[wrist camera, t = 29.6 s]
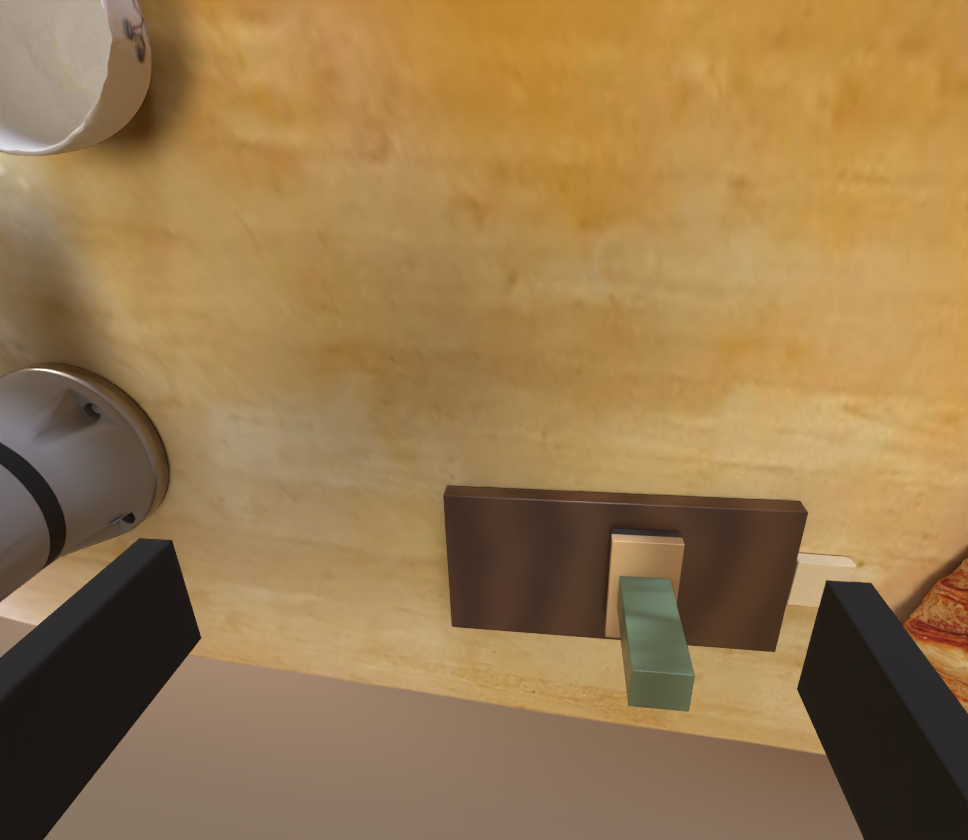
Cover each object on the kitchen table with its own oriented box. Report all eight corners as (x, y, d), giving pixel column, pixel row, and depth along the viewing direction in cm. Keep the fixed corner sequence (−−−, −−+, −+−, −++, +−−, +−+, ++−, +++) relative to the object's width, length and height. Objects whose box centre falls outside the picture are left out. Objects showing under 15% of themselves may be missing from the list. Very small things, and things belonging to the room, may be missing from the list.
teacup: (169, -96, 31) (50, -177, 24) (224, 151, 36) (139, 146, 29) (-59, -60, 34) (-232, -125, 26) (22, 168, 39) (-105, 167, 31)
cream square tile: (781, 594, 44) (786, 604, 43) (792, 552, 42) (798, 562, 41) (836, 598, 44) (842, 609, 42) (849, 556, 42) (857, 566, 41)
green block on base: (603, 620, 46) (613, 738, 36) (610, 526, 42) (623, 630, 32) (667, 625, 45) (695, 747, 35) (680, 530, 41) (714, 637, 32)
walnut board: (454, 614, 49) (451, 627, 48) (446, 485, 44) (443, 495, 43) (768, 638, 46) (775, 652, 45) (800, 500, 41) (808, 512, 39)
